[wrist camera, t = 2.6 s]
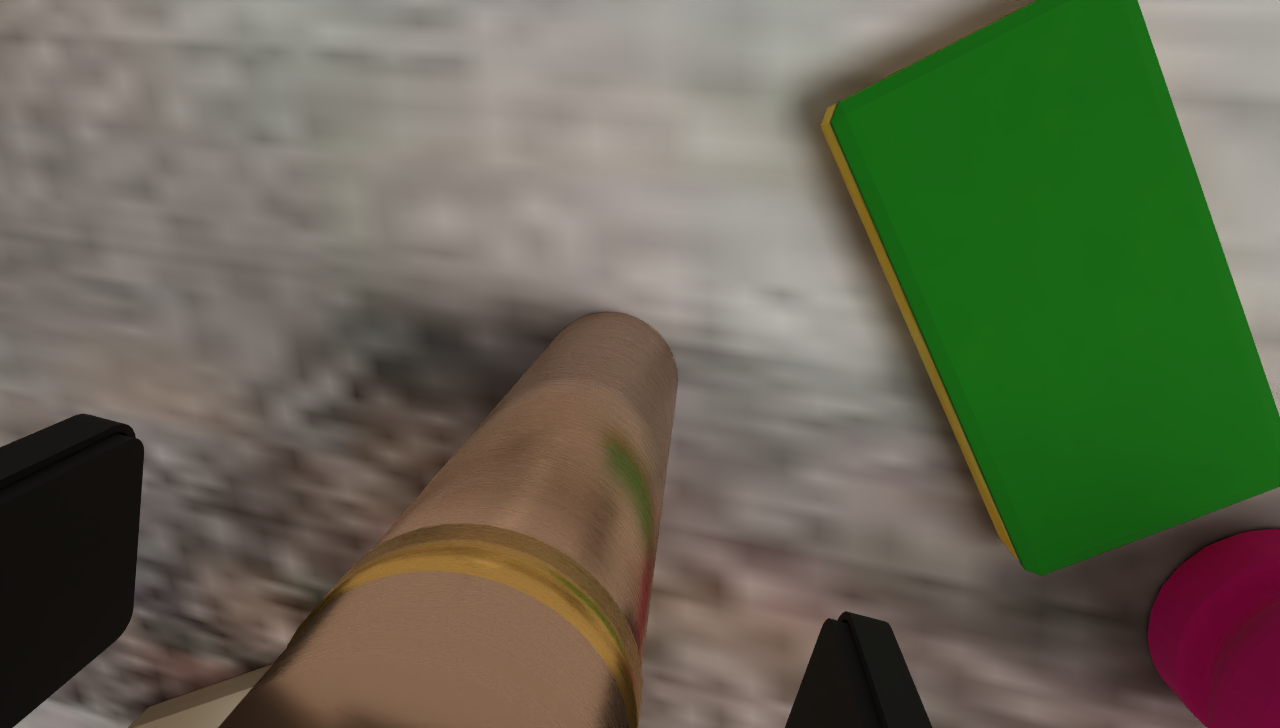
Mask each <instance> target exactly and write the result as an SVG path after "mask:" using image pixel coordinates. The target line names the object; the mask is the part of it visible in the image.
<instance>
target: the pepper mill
mask: <svg viewBox="0 0 1280 728" xmlns="http://www.w3.org/2000/svg"><path fill="white" fill-rule="evenodd" d="M1148 646H1149V650H1150V653H1151V657H1152V660H1153V663H1154V666H1155V667H1156V669H1157V671H1158V673H1159V675H1160V676H1161V677H1162V679H1163V680H1164V681H1165V683H1166V684H1167V685H1168V686H1169V687H1170V688H1171V689H1172V691H1173V692H1174V693H1175V694H1176V695H1177V696H1178V697H1179V699H1180V700H1181V701H1182V702H1183V703H1184V704H1185V705H1186V706H1187V708H1188V709H1189V710H1190V711H1191V712H1192V713H1193V714H1194V715H1195V716H1196V717H1197V718H1198V719H1199V720H1200V721H1201V722H1202V723H1203V724H1204V725H1205V726H1206V727H1207V728H1280V529H1267V530H1257V531H1250V532H1243V533H1239V534H1236V535H1234V536H1231V537H1229V538H1226V539H1224V540H1221V541H1218V542H1216V543H1213V544H1211V545H1208V546H1206V547H1204V548H1203V549H1201V550H1200V551H1199V552H1197V553H1196V554H1195V555H1193V556H1192V557H1190V558H1189V559H1188V560H1186V561H1185V562H1183V563H1182V564H1181V565H1180V566H1179V567H1178V568H1177V569H1176V570H1175V572H1174V573H1173V574H1172V575H1171V576H1170V577H1169V579H1168V580H1167V581H1166V582H1165V583H1164V584H1163V586H1162V587H1161V589H1160V591H1159V594H1158V596H1157V598H1156V600H1155V602H1154V604H1153V607H1152V609H1151V614H1150V620H1149V626H1148Z"/></svg>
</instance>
